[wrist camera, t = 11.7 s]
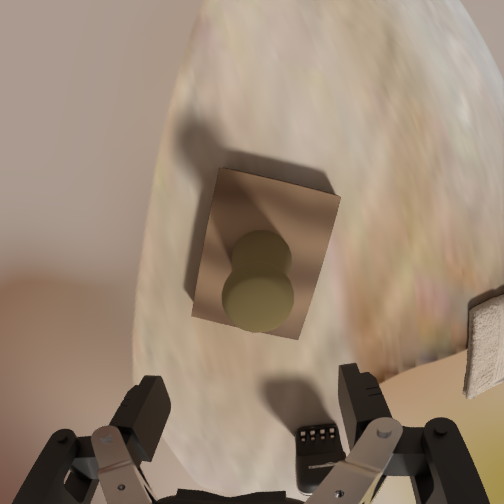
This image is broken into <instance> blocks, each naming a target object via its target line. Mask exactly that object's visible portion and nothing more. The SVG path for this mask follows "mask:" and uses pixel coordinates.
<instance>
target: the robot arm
mask: <svg viewBox="0 0 504 504" xmlns="http://www.w3.org/2000/svg"><path fill="white" fill-rule="evenodd" d="M338 399H339V405H340V409H341V413H342V417H343V422H344V426H345V430H346V435H347V439H348V444H349V448H350V453H349V455H348V456H347V457H346V459H345V460H344V461H343V460H340V461H339V462H337V464H336V465H335V466H334V467H333V469H332V470H331V471H330V473H329V474H328V475H327V476H326V478H325V479H324V480H323V481H322V483H321V484H320V485H319V486H318V488H317V489H316V490H315V491H314V492H313V494H312V495H311V496H310V497H309V498H308V499H307V501H306V502H303V501H300V500H297V499H293V498H287V497H286V491H274V492H256V493H251V494H246V495H241V496H236V497H224V496H220V495H217V494H213V493H209V492H205V491H199V490H187V489H178V491H177V494H176V495H175V496H169V497H165V498H162V499H159V500H158V499H157V497H156V495H155V493H154V492H153V490H152V488H151V486H150V484H149V482H148V480H147V478H146V476H145V474H144V472H143V470H142V468H141V467H140V464H141V462H142V461H147V462H151V461H152V458H153V456H154V453H155V450H156V448H157V445H158V443H159V440H160V437H161V435H162V432H163V429H164V427H165V424H166V422H167V419H168V416H169V414H170V411H171V402H170V398H169V395H168V393H167V390H166V387H165V384H164V382H163V379H162V377H161V376H150V375H145V376H144V377H143V379H142V380H141V382H140V384H139V385H135V386H134V387H133V388H131V389H130V390H129V391H128V392H127V394H126V396H125V397H124V400H123V401H122V403H121V406H119V408H118V409H117V411H116V413H115V415H114V417H113V418H112V420H111V422H110V424H109V425H108V426H102V427H100V428H98V429H97V430H95V431H94V432H93V434H92V436H85V437H77V436H76V435H75V433H74V432H73V431H72V430H70V429H61V430H58V431H56V432H55V433H54V434H52V436H51V437H50V439H49V440H48V442H47V444H46V445H45V447H44V449H43V450H42V452H41V454H40V455H39V457H38V459H37V460H36V462H35V464H34V465H33V467H32V469H31V470H30V472H29V474H28V476H27V477H26V479H25V481H24V483H23V485H22V486H21V488H20V490H19V492H18V493H17V495H16V497H15V499H14V501H13V503H12V504H90V503H91V500H92V498H93V495H94V493H95V490H96V488H97V485H98V482H99V481H100V484H101V487H102V490H103V493H104V496H105V499H106V501H107V504H371V503H372V502H373V500H374V499H375V497H376V496H377V494H378V492H379V491H380V489H381V487H382V486H383V484H384V482H385V481H386V479H387V477H388V476H410V479H411V483H412V487H413V491H414V495H415V499H416V504H490V502H489V500H488V497H487V494H486V492H485V489H484V487H483V484H482V482H481V479H480V477H479V474H478V472H477V469H476V467H475V465H474V462H473V460H472V458H471V456H470V453H469V451H468V449H467V447H466V444H465V442H464V440H463V438H462V436H461V434H460V432H459V429H458V427H457V425H456V424H455V423H454V422H453V421H452V420H450V419H448V418H442V417H441V418H434V419H432V420H430V421H428V422H427V423H426V425H425V427H405V426H402V425H401V424H400V422H398V421H397V420H395V419H393V418H392V416H391V413H390V411H389V408H388V406H387V403H386V401H385V399H384V396H383V394H382V391H381V389H380V388H379V384H378V382H377V379H376V378H375V377H374V376H373V375H372V374H370V373H369V372H365V373H360V372H359V369H358V367H357V364H356V363H351V364H344V365H339V376H338ZM68 470H70V471H71V472H70V474H69V476H68V478H67V480H66V482H65V484H64V478H65V476H66V474H67V472H68Z"/></svg>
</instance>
